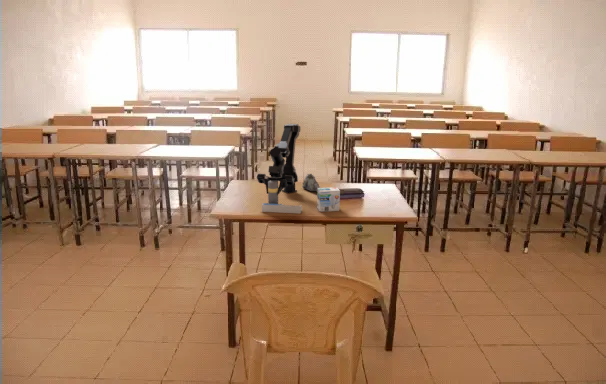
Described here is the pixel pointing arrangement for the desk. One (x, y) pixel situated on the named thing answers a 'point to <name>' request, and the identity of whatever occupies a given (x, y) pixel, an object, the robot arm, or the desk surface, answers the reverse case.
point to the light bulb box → (328, 199)
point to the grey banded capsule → (272, 192)
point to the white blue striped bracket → (281, 208)
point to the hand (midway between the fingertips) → (272, 193)
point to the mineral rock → (310, 183)
